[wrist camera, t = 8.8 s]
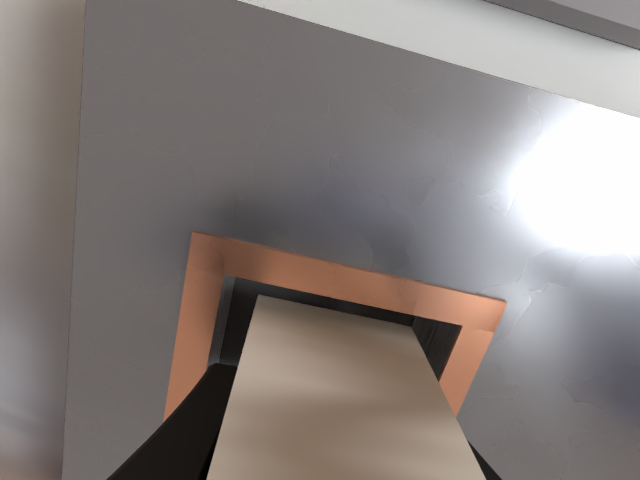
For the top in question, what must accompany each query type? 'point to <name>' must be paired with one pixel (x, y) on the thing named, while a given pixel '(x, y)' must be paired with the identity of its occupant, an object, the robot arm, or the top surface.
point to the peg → (336, 403)
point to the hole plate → (349, 228)
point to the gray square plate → (587, 16)
